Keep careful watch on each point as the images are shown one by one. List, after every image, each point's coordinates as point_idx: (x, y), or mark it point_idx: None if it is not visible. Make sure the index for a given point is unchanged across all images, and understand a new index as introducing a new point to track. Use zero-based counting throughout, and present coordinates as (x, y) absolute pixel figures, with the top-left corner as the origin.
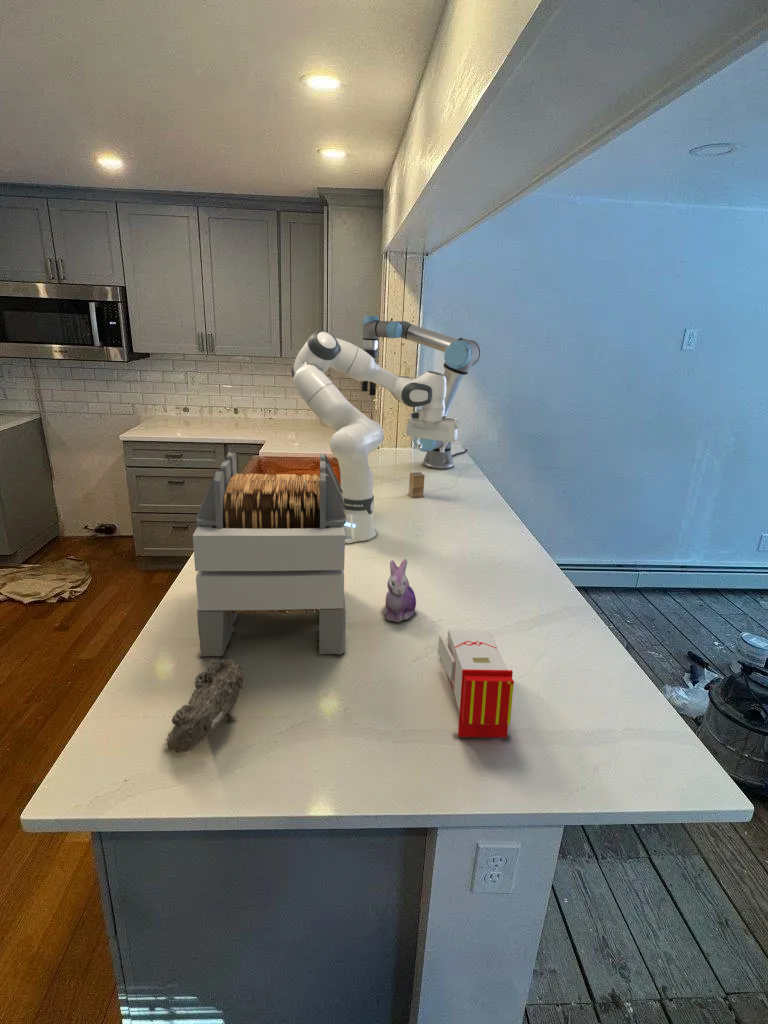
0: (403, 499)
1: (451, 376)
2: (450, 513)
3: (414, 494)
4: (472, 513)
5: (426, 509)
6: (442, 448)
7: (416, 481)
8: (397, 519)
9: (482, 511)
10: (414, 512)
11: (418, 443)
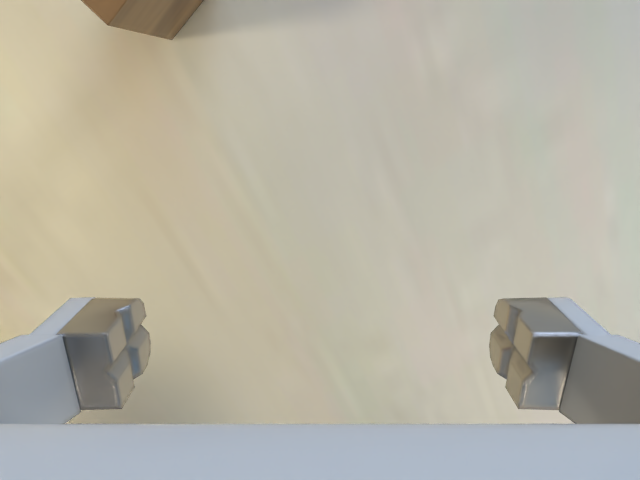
0: (147, 104)
1: None
2: (463, 175)
3: (173, 27)
4: (575, 106)
5: (332, 189)
6: (572, 406)
7: (145, 9)
8: (276, 372)
9: (628, 35)
10: (299, 261)
11: (56, 420)
